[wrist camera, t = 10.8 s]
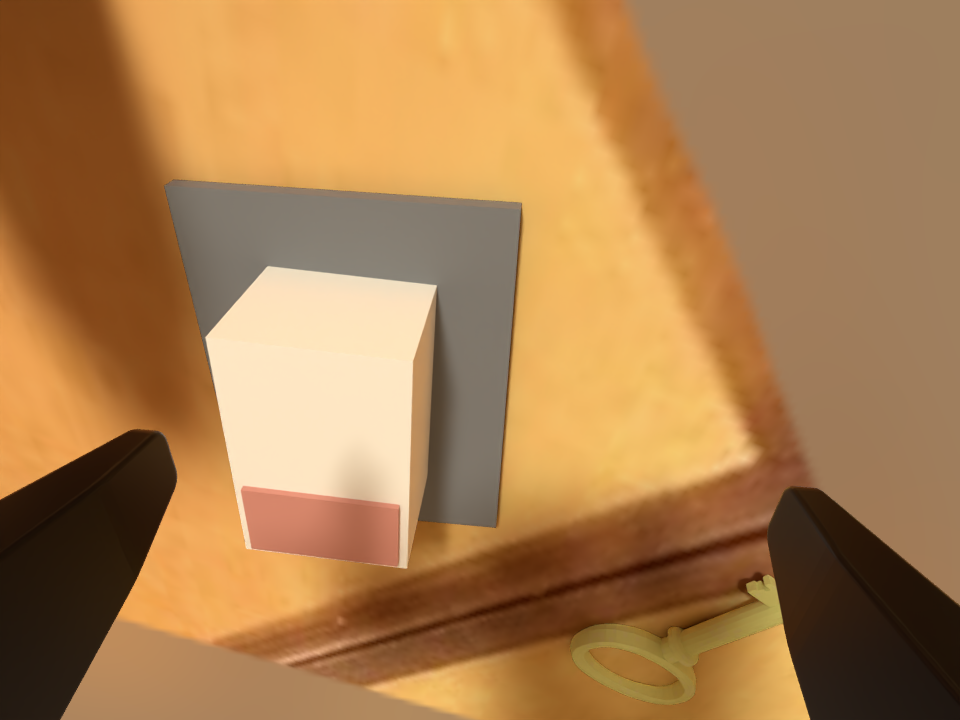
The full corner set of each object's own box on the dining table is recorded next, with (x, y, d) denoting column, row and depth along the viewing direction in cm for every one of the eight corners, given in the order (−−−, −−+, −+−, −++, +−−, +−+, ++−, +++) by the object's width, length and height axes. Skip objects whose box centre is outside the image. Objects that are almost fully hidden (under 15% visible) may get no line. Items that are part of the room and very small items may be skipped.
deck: (437, 285, 20) (411, 365, 16) (427, 475, 25) (406, 573, 21) (267, 266, 20) (201, 341, 16) (290, 459, 25) (244, 553, 21)
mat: (496, 516, 27) (495, 527, 26) (248, 494, 27) (243, 504, 27) (521, 202, 19) (520, 209, 18) (173, 179, 19) (163, 185, 19)
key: (809, 565, 27) (827, 608, 26) (666, 693, 34) (673, 734, 32) (664, 515, 26) (672, 556, 25) (547, 657, 33) (547, 697, 31)
